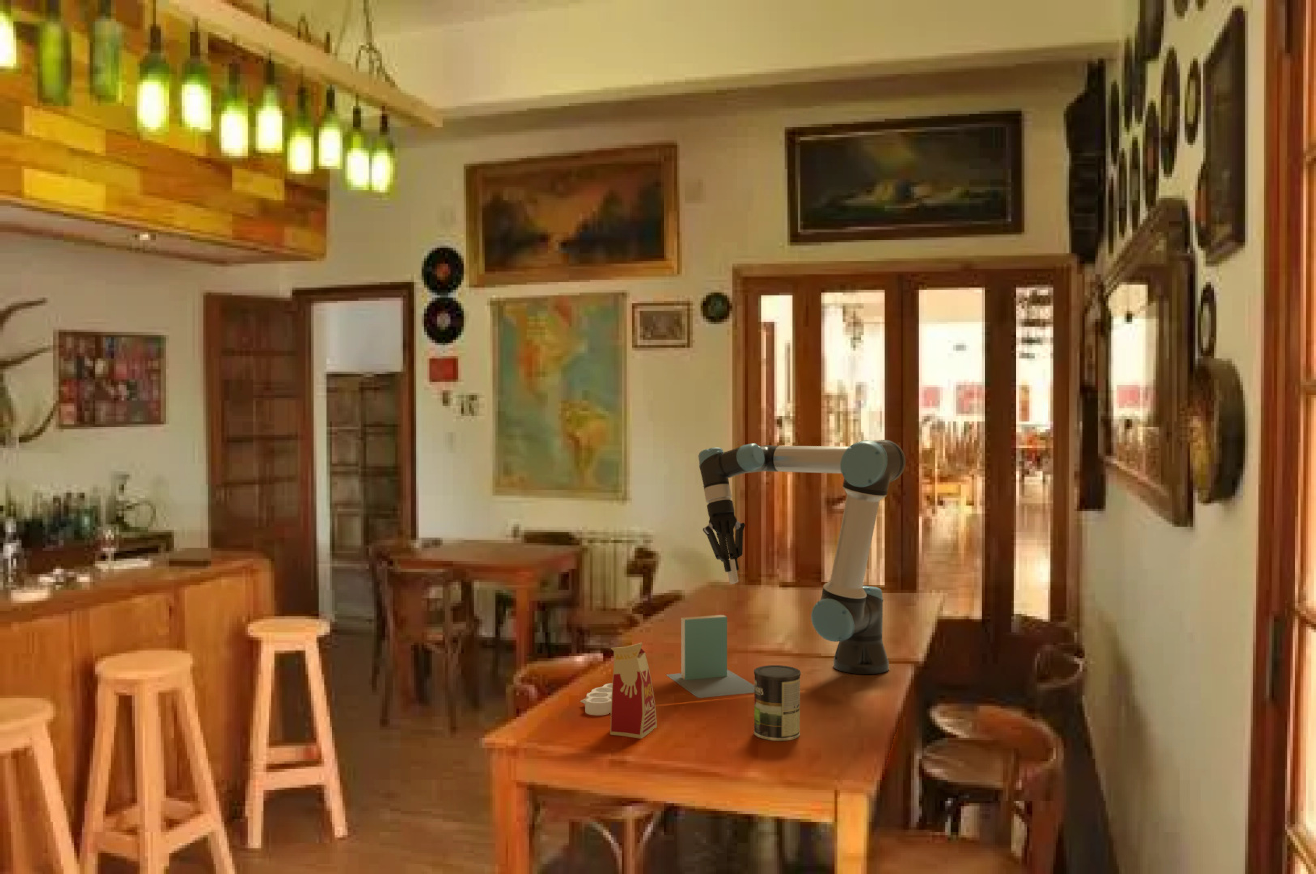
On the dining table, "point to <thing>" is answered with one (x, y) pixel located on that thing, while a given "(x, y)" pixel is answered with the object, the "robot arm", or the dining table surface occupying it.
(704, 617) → the tile
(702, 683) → the mat
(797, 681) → the coffee can
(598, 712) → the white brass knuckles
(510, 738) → the dining table surface
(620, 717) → the milk carton
